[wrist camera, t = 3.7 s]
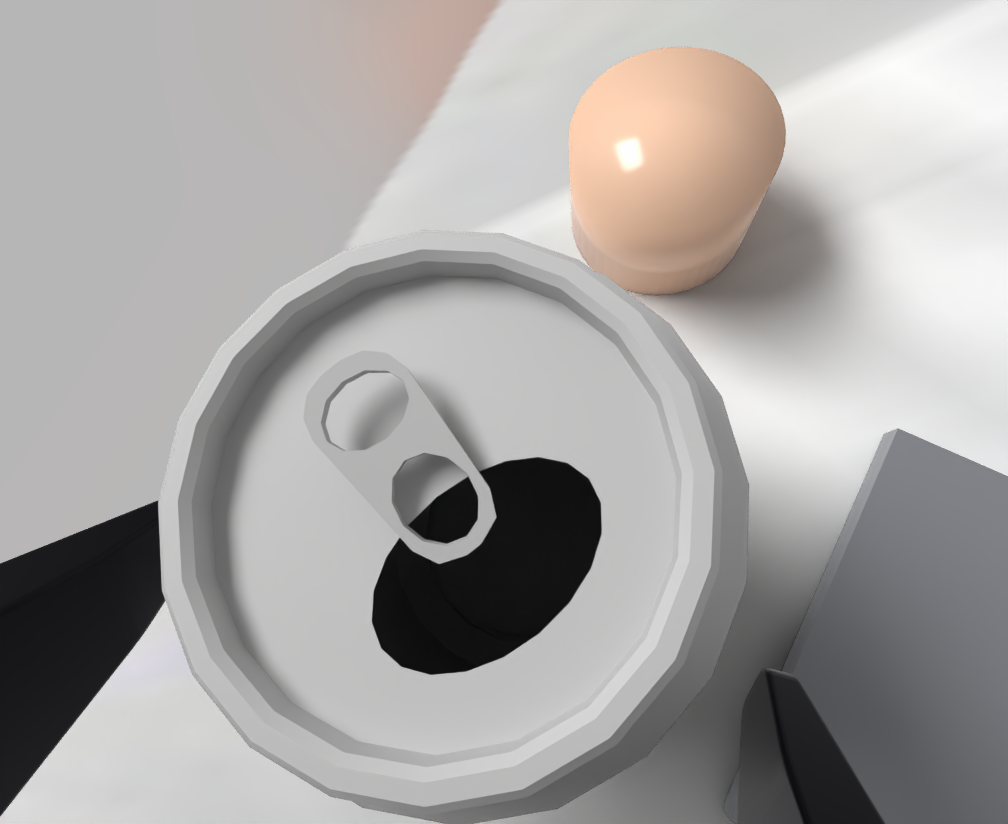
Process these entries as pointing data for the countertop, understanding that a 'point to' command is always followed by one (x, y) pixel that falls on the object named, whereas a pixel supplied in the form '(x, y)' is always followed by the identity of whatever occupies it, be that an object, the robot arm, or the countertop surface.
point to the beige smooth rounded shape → (671, 166)
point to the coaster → (916, 638)
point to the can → (453, 527)
